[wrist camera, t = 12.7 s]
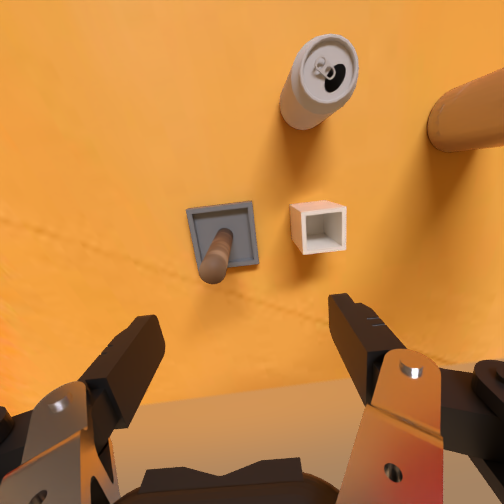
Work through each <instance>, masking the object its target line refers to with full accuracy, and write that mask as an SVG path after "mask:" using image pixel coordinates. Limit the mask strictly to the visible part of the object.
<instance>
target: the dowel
mask: <svg viewBox="0 0 504 504" xmlns="http://www.w3.org/2000/svg"><path fill="white" fill-rule="evenodd" d="M232 241H233V233H232V231H231V230H230V229H228V228H221V229H220V230H218V232H217V234H216V236H215V238H214V240H213V241H212V243H211V245H210V247H209V249H208V251H207V253H206V255H205V257H204V259H203V261H202V263H201V265H200V267H199V275H200V277H201V279H202V280H203V281H204V282H206V283H209V284H217V283H219V282H221V281H222V280H223V279H224V277H225V275H226V270H227V265H228V260H229V255H230V251H231V246H232Z"/></svg>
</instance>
